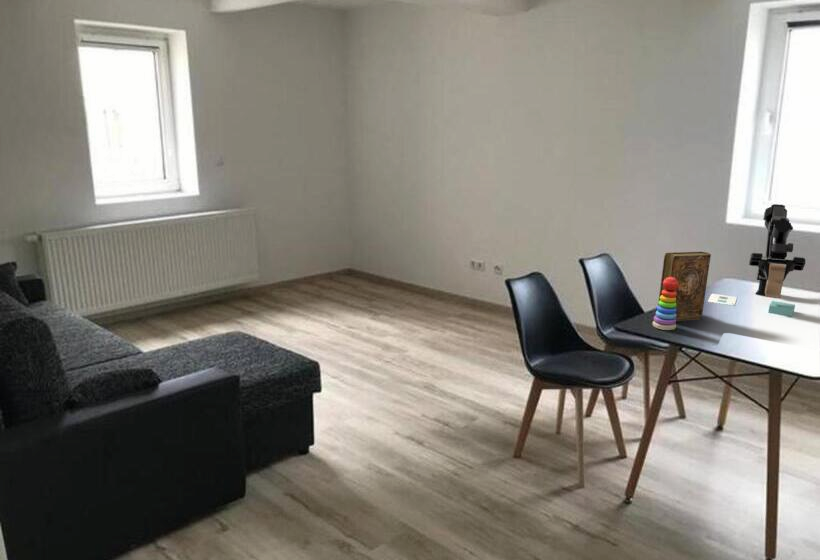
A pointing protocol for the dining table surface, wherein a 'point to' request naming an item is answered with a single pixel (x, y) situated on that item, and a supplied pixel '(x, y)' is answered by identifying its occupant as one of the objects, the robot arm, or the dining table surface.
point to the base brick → (781, 308)
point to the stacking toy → (667, 306)
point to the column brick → (775, 280)
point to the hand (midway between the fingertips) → (775, 279)
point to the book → (687, 282)
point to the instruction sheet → (722, 299)
